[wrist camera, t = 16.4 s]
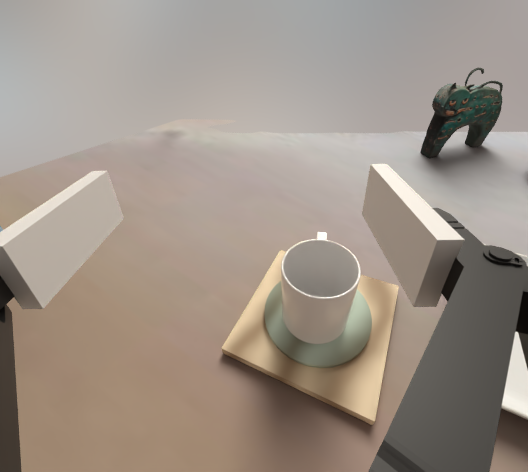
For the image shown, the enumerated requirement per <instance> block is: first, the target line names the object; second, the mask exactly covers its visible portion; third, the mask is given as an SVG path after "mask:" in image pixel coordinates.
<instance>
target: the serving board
mask: <svg viewBox="0 0 528 472" xmlns="http://www.w3.org/2000/svg"><path fill="white" fill-rule="evenodd" d="M285 253H286V251H282V250H280V252H279V253H278V255H277V257H276V258H275V260H274V262H273V263H272V265H271V267H270V268H269V270H268V272H267V273H266V275H265V277H264V278H263V280H262V282H261V283H260V285H259V287H258V288H257V290H256V292H255V293H254V295H253V297H252V298H251V300H250V302H249V303H248V305H247V307H246V308H245V310H244V312H243V313H242V315H241V317H240V318H239V320H238V322H237V323H236V325H235V327H234V328H233V330H232V332H231V333H230V335H229V337H228V338H227V340H226V342H225V343H224V345H223V347H222V351H223V353H224V354H226V355H228V356H230V357H232V358H234V359H236V360H238V361H240V362H242V363H244V364H246V365H248V366H250V367H252V368H255V369H257V370H259V371H261V372H263V373H265V374H267V375H269V376H271V377H273V378H275V379H277V380H279V381H281V382H283V383H286V384H288V385H290V386H292V387H294V388H296V389H298V390H300V391H302V392H304V393H306V394H308V395H310V396H312V397H315V398H317V399H319V400H321V401H323V402H325V403H327V404H329V405H331V406H333V407H335V408H337V409H339V410H341V411H343V412H346V413H348V414H350V415H352V416H354V417H356V418H358V419H360V420H362V421H364V422H366V423H368V424H370V425H373V423H374V422H375V418H376V412H377V407H378V401H379V395H380V390H381V384H382V378H383V373H384V367H385V361H386V356H387V350H388V344H389V339H390V333H391V327H392V322H393V316H394V310H395V305H396V299H397V293H398V288H399V286H396V285H393V284H390V283H387V282H383V281H380V280H377V279H374V278H370V277H367V276H364V275H361V276H360V280H359V284H358V287H357V291H356V294H355V297H354V301H353V304H352V308H351V311H350V315H349V318H348V322H347V325H346V328H345V330H344V331H343V333H342V334H341V335H340V336H339V337H338V338H336V339H335V340H333V341H331V342H329V343H325V344H310V343H306V342H304V341H301V340H300V339H298V338H296V337H295V336H294V335H293V334H292V333H291V332H290V331H289V330H288V329H287V327H286V325H285V323H284V321H283V317H282V287H281V263H282V259H283V257H284V255H285Z"/></svg>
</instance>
